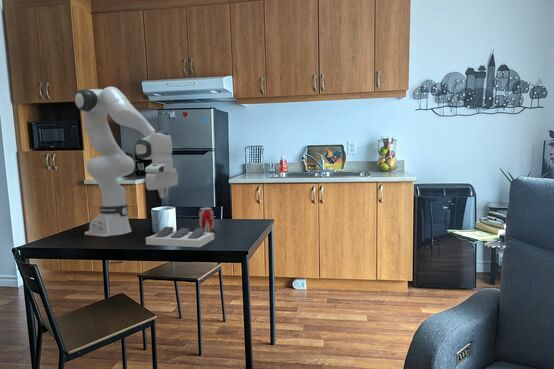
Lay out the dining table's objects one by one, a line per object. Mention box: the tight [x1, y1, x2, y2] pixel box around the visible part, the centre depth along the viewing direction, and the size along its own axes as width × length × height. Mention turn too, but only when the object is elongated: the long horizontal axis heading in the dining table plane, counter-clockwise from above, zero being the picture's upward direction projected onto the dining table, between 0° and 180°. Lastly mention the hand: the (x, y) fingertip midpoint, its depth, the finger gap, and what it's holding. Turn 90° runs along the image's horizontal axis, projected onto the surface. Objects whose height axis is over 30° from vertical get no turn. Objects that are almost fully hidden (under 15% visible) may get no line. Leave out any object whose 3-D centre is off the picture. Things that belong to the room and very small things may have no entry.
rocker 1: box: [155, 226, 174, 237], centre depth 170 cm, size 4×9×2 cm, turn 164°
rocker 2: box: [187, 227, 205, 239], centre depth 165 cm, size 4×9×2 cm, turn 164°
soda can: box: [198, 206, 215, 233], centre depth 186 cm, size 7×7×12 cm
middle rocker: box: [171, 227, 190, 238], centre depth 168 cm, size 4×9×2 cm, turn 164°
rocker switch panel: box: [145, 230, 215, 248], centre depth 168 cm, size 26×14×3 cm, turn 74°
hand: (163, 197), depth 171 cm, fingers closed
